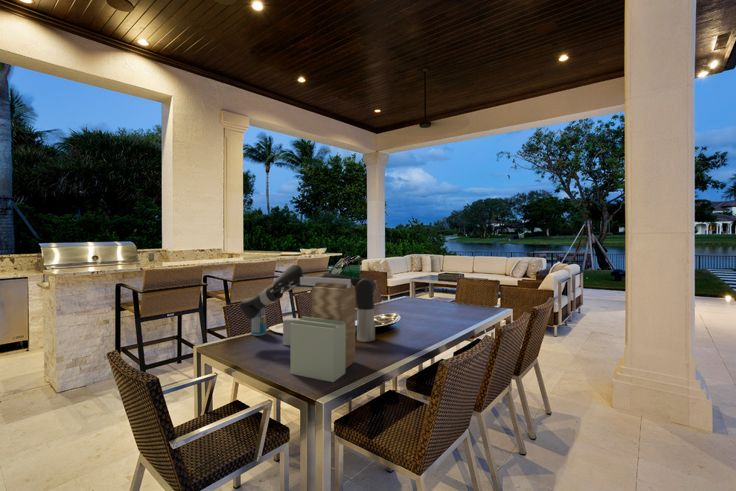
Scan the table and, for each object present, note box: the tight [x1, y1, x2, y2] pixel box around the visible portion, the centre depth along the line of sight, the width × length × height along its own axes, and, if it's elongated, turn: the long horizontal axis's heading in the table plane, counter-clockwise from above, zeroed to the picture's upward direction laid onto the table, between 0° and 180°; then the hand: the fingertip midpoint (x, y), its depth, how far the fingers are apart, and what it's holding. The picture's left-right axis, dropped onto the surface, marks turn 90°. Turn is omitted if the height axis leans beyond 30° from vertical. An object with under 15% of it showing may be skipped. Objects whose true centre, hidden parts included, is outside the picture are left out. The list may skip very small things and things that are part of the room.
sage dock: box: [289, 315, 346, 383], centre depth 145 cm, size 20×10×22 cm, turn 65°
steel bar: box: [300, 275, 351, 288], centre depth 157 cm, size 24×4×4 cm, turn 65°
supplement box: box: [282, 317, 302, 346], centre depth 185 cm, size 7×7×13 cm
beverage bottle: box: [250, 307, 267, 337], centre depth 203 cm, size 8×8×20 cm
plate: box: [268, 322, 283, 335], centre depth 213 cm, size 27×27×2 cm
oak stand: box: [311, 283, 356, 369], centre depth 156 cm, size 15×12×36 cm
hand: (294, 280), depth 170 cm, fingers open, 8 cm apart
